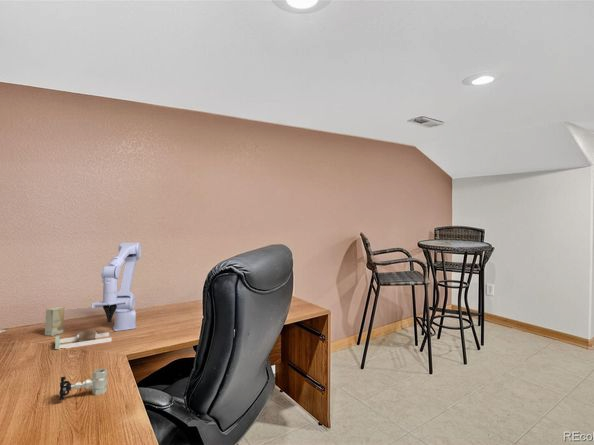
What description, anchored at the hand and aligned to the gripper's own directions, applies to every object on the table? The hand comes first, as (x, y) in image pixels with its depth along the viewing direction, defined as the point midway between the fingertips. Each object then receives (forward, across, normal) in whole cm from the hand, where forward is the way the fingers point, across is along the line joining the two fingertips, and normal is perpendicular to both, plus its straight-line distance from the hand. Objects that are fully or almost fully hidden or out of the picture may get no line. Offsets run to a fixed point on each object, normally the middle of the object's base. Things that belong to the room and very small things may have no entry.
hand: (109, 321), depth 155 cm
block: (+8, -8, 0) cm, 11 cm away
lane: (+8, -10, +3) cm, 13 cm away
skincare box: (+8, -20, +21) cm, 30 cm away
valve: (+8, -12, -56) cm, 58 cm away
